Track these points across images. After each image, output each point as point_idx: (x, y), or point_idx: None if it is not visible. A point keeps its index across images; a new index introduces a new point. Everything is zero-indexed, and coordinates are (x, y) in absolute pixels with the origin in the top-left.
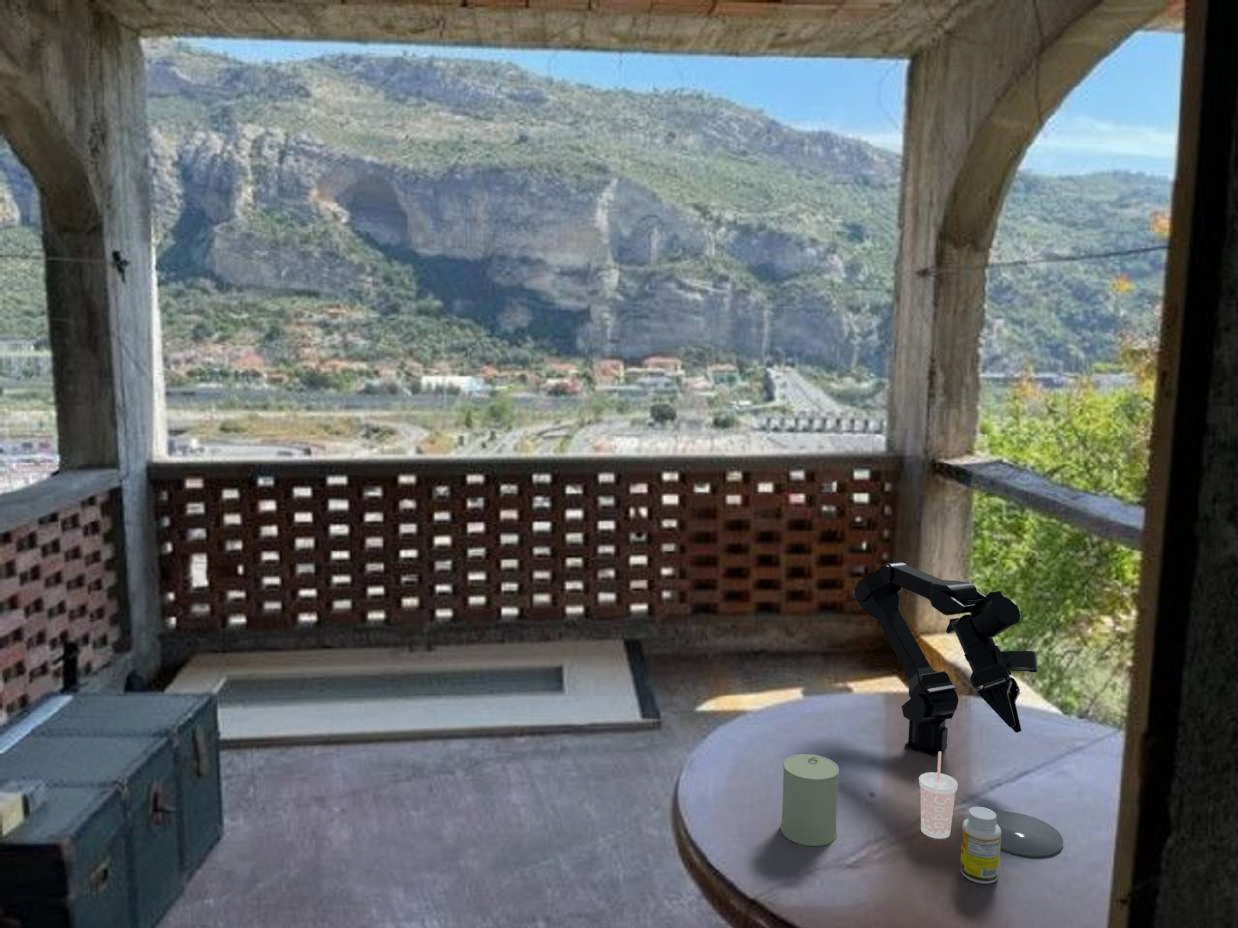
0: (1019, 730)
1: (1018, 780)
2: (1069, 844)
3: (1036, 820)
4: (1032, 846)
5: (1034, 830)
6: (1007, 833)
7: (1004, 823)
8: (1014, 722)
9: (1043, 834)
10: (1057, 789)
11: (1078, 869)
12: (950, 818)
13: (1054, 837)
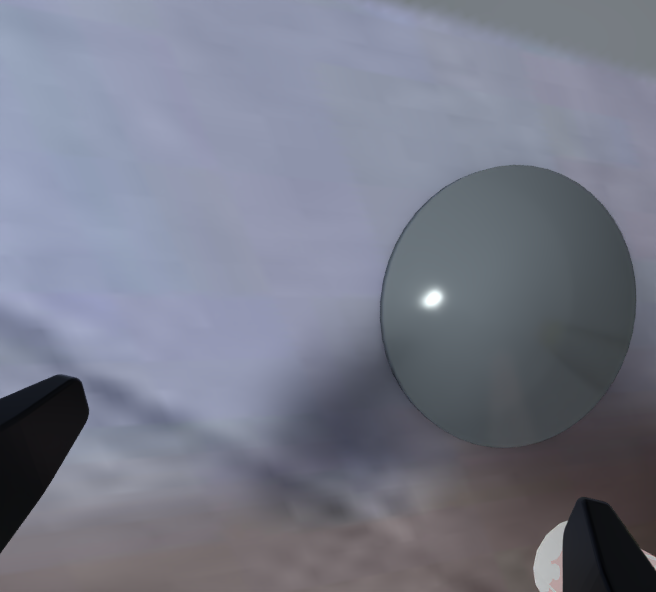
0: (76, 391)
1: (20, 306)
2: (513, 144)
3: (416, 247)
4: (593, 269)
5: (491, 258)
6: (542, 348)
7: (480, 359)
8: (621, 526)
9: (507, 228)
10: (44, 130)
11: (646, 137)
12: (644, 551)
13: (515, 192)
